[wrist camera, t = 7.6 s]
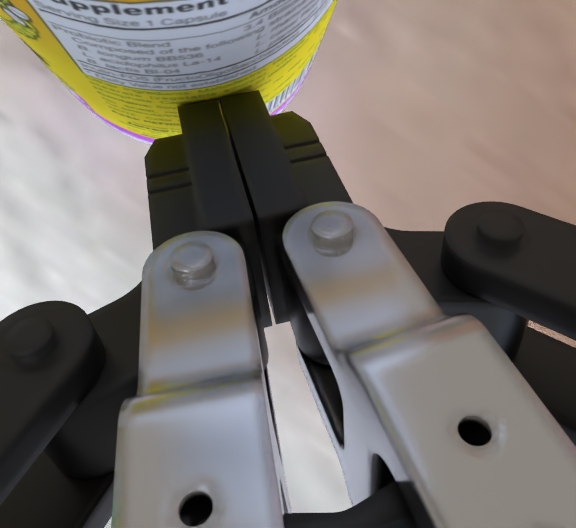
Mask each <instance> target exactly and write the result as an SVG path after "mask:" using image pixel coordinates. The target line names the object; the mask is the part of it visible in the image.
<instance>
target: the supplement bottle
mask: <svg viewBox="0 0 576 528" xmlns="http://www.w3.org/2000/svg"><path fill="white" fill-rule="evenodd" d="M336 2H337V0H0V17H1V19H2V20H3V21H4V22H5V23H6V24H7V25H8V26H9V27H10V28H11V29H12V30H13V31H14V32H15V33H16V34H17V35H18V36H19V38H20V39H21V40H22V41H23V42H24V43H25V44H26V45H27V46H28V47H29V48H30V49H31V50H32V51H33V52H34V53H35V54H36V55H37V56H38V57H39V58H40V60H41V61H42V62H43V63H44V64H45V65H46V66H47V67H48V68H49V69H50V70H51V71H52V72H53V73H54V74H55V75H56V76H57V78H58V79H59V80H60V81H61V82H62V83H63V84H64V85H65V86H66V87H67V88H68V89H69V90H70V91H71V92H72V93H73V94H74V95H75V97H76V98H78V99H79V100H80V101H81V102H82V103H83V104H84V105H85V106H86V107H87V108H88V109H89V110H90V111H91V112H92V113H93V114H95V115H96V116H97V117H98V118H99V119H101V120H102V121H103V122H105V123H106V124H108V125H109V126H111V127H112V128H114V129H115V130H117V131H119V132H121V133H122V134H124V135H126V136H129V137H131V138H133V139H135V140H138V141H140V142H143V143H146V144H150V145H152V143H153V142H154V140H155V139H159V138H164V137H169V136H174V135H179V134H182V129H181V124H180V119H179V114H178V109H177V106H181V105H186V104H191V103H196V102H201V101H206V100H211V99H217V102H218V105H219V108H220V111H221V106H220V98H221V97H225V96H230V95H235V94H240V93H245V92H250V91H255V90H259V92H260V94H261V96H262V98H263V100H264V103H265V105H266V107H267V110H268V112H269V114H270V116H271V115H276V114H279V113H280V112H281V111H282V110H283V109H284V108H285V107H286V105H287V104H288V103H289V102H290V101H291V99H292V98H293V97H294V96H295V94H296V93H297V91H298V90H299V88H300V86H301V84H302V82H303V81H304V79H305V77H306V75H307V73H308V71H309V69H310V67H311V65H312V62H313V60H314V57H315V55H316V53H317V50H318V48H319V45H320V43H321V41H322V38H323V35H324V33H325V30H326V27H327V25H328V22H329V20H330V18H331V15H332V13H333V10H334V7H335V5H336ZM221 115H222V111H221ZM222 118H223V117H222Z"/></svg>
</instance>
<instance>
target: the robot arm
mask: <svg viewBox="0 0 576 528" xmlns="http://www.w3.org/2000/svg"><path fill="white" fill-rule="evenodd" d="M220 106H221V111H222V115H221V111H220V108H219V105H218V102H217V99H211V100H206V101H201V102H196V103H191V104H186V105H181V106H177V109H178V114H179V119H180V124H181V129H182V134H179V135H174V136H169V137H164V138H159V139H155V140H154V142H153V143H152V145H151V147H150V149H149V151H148V152H147V154H146V156H145V168H146V177H147V189H148V194H149V195H148V200H149V210H150V221H151V231H152V242H153V252H152V253H151V254H150V256H149V257H148V259H147V260H146V262H145V265H144V267H143V272H142V281H141V282H140V283H139V284H138V285H137V286H136V287H135V288H134V289H133V290H131V291H130V292H129V293H127V294H126V295H124V296H123V297H121V298H119V299H118V300H116V301H114V302H112V303H110V304H108V305H106V306H104V307H102V308H100V309H98V310H96V311H94V312H92V313H90V314H88V315H87V314H86V313H85V311H84V310H82V309H81V308H80V307H79V306H77V305H74V304H72V303H69V302H65V301H45V302H40V303H36V304H33V305H30V306H27V307H24V308H22V309H20V310H18V311H16V312H14V313H12V314H11V315H9V316H7V317H6V318H5V319H3V320H2V321H1V322H0V528H104V527H105V525H106V524H107V522H108V521H109V519H110V517H111V516H112V523H111V528H576V348H574V347H572V346H570V345H568V344H565V343H563V342H561V341H559V340H556V339H554V338H552V337H550V336H548V335H545V334H543V333H541V332H539V331H536V330H534V329H532V328H530V327H528V326H527V325H528V322H529V320H531V321H533V322H535V323H537V324H540V325H542V326H544V327H546V328H549V329H551V330H553V331H556V332H558V333H560V334H562V335H565V336H567V337H569V338H571V339H574V340H576V226H575V225H572V224H569V223H567V222H564V221H561V220H558V219H555V218H552V217H549V216H546V215H543V214H540V213H538V212H535V211H532V210H529V209H526V208H523V207H520V206H517V205H513V204H509V203H504V202H479V203H474V204H470V205H467V206H465V207H462V208H460V209H459V210H457V211H456V212H454V213H453V214H452V215H451V216H450V218H449V219H448V221H447V223H446V226H445V231H444V232H441V231H400V230H394V229H390V228H386V227H383V225H382V224H381V222H380V221H379V220H378V219H377V217H376V216H375V215H374V214H373V213H371V212H370V211H369V210H367V209H365V208H363V207H361V206H358V205H356V204H353V202H352V200H351V198H350V196H349V195H348V193H347V191H346V189H345V187H344V185H343V183H342V181H341V179H340V178H339V176H338V174H337V172H336V170H335V168H334V166H333V164H332V163H331V161H330V159H329V157H328V156H327V155H326V151H325V149H324V147H323V146H322V144H321V143H320V142H319V138H318V136H317V134H316V132H315V130H314V129H313V127H312V125H311V123H310V122H308V121H307V120H305V119H304V118H302V117H300V116H299V115H297V114H296V113H294V112H293V111H290V112H285V113H280V114H276V115H271V116H270V114H269V112H268V110H267V107H266V105H265V103H264V100H263V98H262V96H261V94H260V92H259V90H255V91H250V92H245V93H240V94H235V95H230V96H225V97H221V98H220ZM222 117H223V118H222ZM266 291H267V292H266ZM267 295H268V298H269V302H270V305H271V308H272V312H273V315H274V319H275V322H276V324H280V323H284V322H288V321H290V323H291V326H292V329H293V332H294V335H295V339H296V346H297V354H298V359H299V363H300V365H301V368H302V370H303V373H304V375H305V378H306V380H307V382H308V385H309V387H310V390H311V392H312V395H313V397H314V399H315V402H316V404H317V407H318V409H319V412H320V414H321V416H322V419H323V421H324V424H325V426H326V429H327V431H328V434H329V436H330V438H331V441H332V443H333V446H334V448H335V451H336V453H337V456H338V458H339V461H340V464H341V467H342V470H343V474H344V478H345V482H346V486H347V490H348V493H349V496H350V500H351V503H352V506H353V507H351V508H349V509H347V510H345V511H342V512H335V513H292V512H291V506H290V501H289V495H288V490H287V484H286V479H285V473H284V467H283V461H282V454H281V448H280V442H279V436H278V430H277V424H276V418H275V412H274V405H273V399H272V393H271V387H270V381H269V375H268V369H267V363H268V348H267V343H266V338H265V333H264V328H265V327H269V326H272V321H271V315H270V309H269V304H268V298H267Z"/></svg>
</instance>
